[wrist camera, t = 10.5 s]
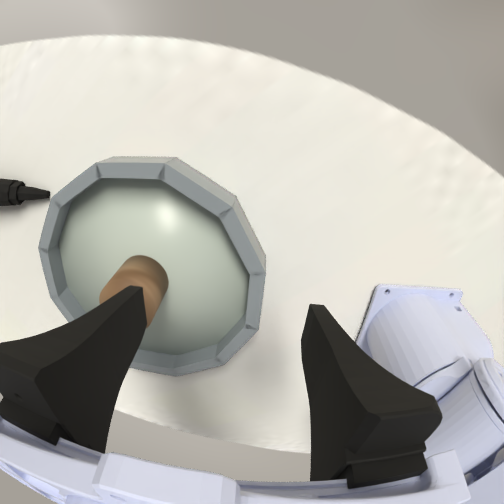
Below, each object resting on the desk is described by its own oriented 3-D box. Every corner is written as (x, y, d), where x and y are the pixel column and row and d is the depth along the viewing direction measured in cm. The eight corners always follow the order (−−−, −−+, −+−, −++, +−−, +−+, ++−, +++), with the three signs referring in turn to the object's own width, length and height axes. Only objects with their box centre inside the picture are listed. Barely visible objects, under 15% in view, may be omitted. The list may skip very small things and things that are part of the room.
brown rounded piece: (174, 266, 21) (157, 296, 18) (162, 306, 23) (147, 339, 19) (125, 247, 21) (101, 273, 17) (118, 289, 23) (97, 318, 19)
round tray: (276, 164, 19) (278, 170, 17) (251, 365, 27) (250, 385, 24) (46, 159, 19) (27, 166, 16) (79, 336, 26) (69, 352, 24)
